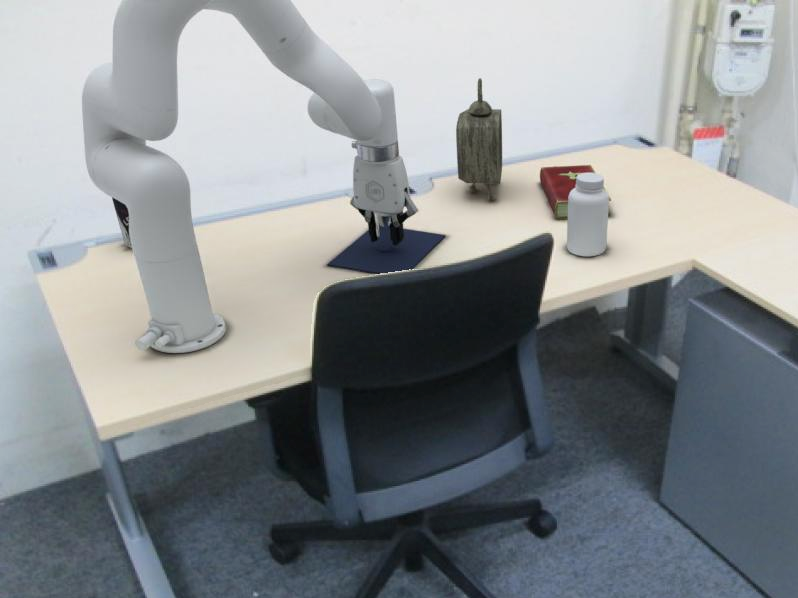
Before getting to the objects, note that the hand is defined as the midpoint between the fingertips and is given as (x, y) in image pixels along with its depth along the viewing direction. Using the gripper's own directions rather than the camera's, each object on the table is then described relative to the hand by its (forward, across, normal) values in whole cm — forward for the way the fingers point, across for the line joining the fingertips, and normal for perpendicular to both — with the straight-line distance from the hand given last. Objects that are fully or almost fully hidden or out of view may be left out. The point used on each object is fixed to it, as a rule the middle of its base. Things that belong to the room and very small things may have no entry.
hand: (387, 240), depth 178 cm
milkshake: (+2, 0, 0) cm, 2 cm away
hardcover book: (+2, +27, +38) cm, 47 cm away
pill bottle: (+2, +37, +14) cm, 40 cm away
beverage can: (+2, -48, -14) cm, 50 cm away
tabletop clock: (+2, +6, +35) cm, 36 cm away
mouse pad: (+2, 0, 0) cm, 2 cm away
